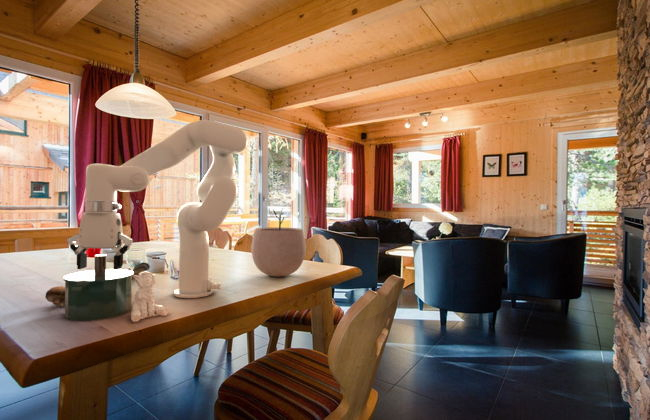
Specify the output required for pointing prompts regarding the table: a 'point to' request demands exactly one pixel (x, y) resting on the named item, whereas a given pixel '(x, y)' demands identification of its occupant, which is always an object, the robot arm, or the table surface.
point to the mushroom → (56, 295)
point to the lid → (98, 273)
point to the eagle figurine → (139, 268)
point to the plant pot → (278, 249)
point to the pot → (98, 299)
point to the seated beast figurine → (145, 299)
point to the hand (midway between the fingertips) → (99, 268)
